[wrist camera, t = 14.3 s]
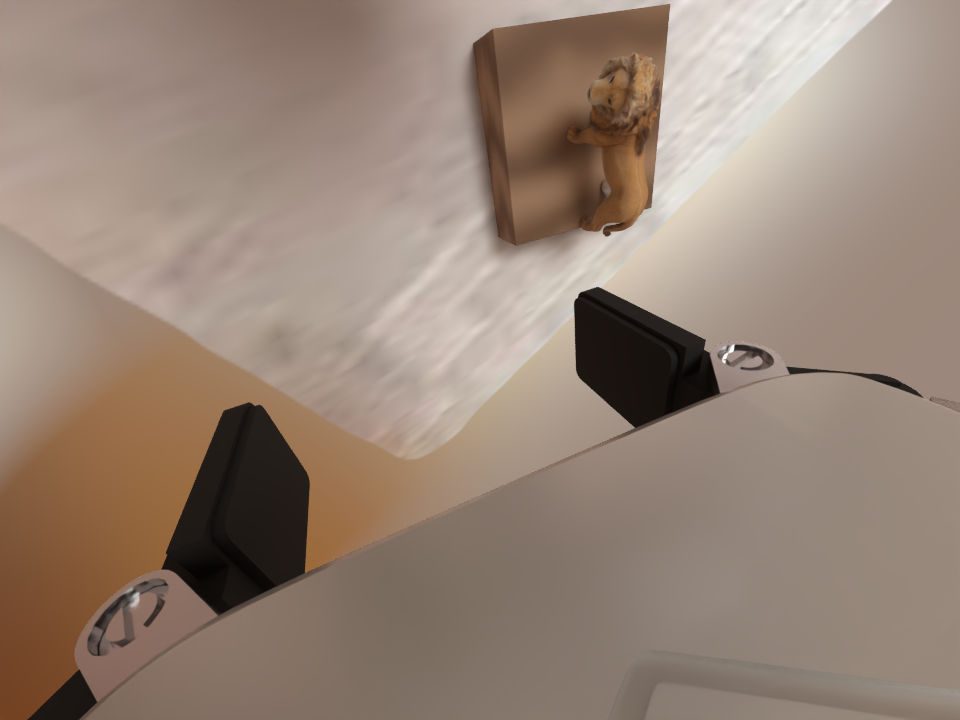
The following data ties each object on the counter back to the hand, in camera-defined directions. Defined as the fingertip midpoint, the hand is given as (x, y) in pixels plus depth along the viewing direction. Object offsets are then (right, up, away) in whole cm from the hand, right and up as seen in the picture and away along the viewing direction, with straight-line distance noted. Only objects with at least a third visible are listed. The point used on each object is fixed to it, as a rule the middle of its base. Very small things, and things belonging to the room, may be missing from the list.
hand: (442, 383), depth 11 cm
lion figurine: (+11, +19, +23) cm, 32 cm away
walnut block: (+9, +23, +26) cm, 36 cm away
